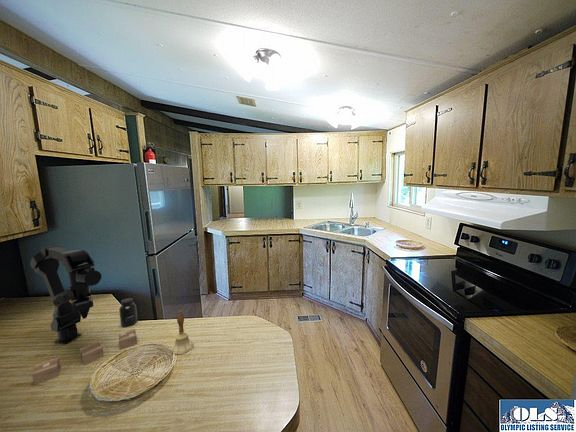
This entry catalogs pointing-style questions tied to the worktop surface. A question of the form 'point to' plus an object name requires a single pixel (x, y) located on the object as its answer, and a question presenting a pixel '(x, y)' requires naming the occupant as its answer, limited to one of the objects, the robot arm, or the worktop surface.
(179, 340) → the hand bell
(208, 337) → the worktop surface
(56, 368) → the one-pip walnut block
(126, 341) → the two-pip walnut block
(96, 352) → the plain walnut block
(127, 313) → the supplement bottle
